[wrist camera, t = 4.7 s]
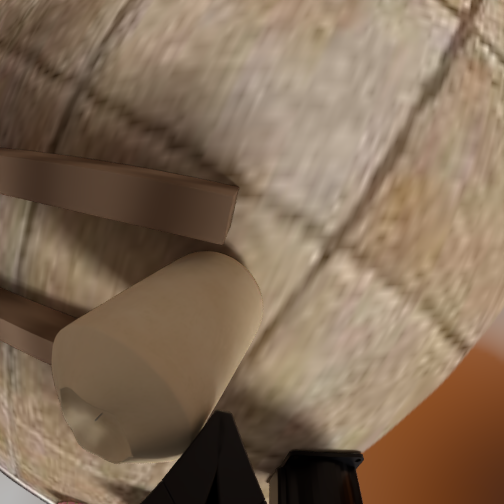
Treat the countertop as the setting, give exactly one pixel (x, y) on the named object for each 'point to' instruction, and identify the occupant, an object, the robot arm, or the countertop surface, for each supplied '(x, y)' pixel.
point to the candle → (156, 358)
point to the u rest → (107, 206)
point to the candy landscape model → (69, 503)
